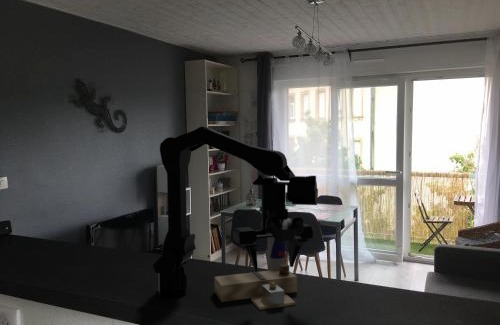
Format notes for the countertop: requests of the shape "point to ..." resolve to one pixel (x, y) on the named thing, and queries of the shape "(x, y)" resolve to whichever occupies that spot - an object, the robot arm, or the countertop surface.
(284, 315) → the countertop surface
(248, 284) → the plane body
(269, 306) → the flat wooden board
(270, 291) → the grey piece
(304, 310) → the countertop surface
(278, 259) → the energy drink
